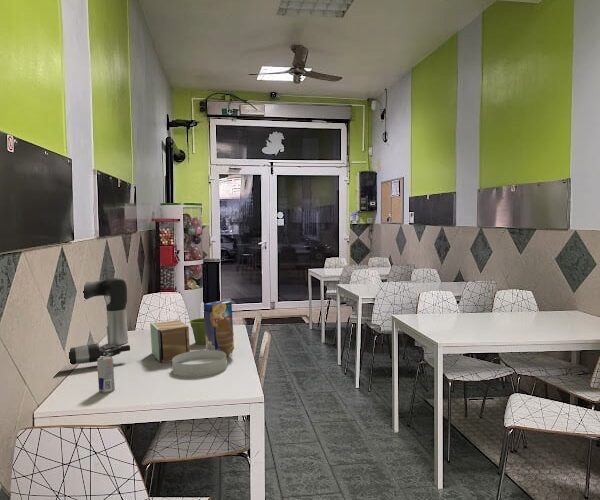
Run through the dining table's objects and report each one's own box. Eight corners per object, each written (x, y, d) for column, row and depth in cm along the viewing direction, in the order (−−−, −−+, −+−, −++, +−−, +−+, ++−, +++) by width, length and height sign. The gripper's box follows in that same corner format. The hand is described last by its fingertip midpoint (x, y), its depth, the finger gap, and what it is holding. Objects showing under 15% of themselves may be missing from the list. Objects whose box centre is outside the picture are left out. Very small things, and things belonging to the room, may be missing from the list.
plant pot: (212, 338, 260) (211, 316, 259) (216, 343, 248) (215, 320, 248) (189, 341, 256) (187, 319, 255) (191, 346, 245) (190, 323, 244)
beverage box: (234, 348, 238) (231, 301, 236) (215, 353, 230) (212, 305, 228) (224, 346, 242) (222, 300, 241) (206, 351, 234) (203, 304, 233)
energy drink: (101, 388, 187) (99, 356, 186) (116, 387, 187) (114, 355, 186) (97, 393, 181) (94, 360, 181) (112, 392, 182) (110, 359, 181)
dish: (180, 380, 193) (179, 367, 193) (166, 367, 213) (165, 355, 212) (235, 370, 203) (234, 358, 203) (217, 358, 223) (216, 347, 223)
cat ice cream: (236, 357, 222) (234, 316, 221) (218, 359, 219) (216, 318, 218) (232, 352, 230) (230, 313, 229) (215, 354, 228) (213, 315, 227)
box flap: (162, 361, 218) (160, 329, 218) (159, 362, 218) (157, 330, 217) (154, 352, 236) (152, 322, 235) (151, 352, 235) (150, 322, 234)
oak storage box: (155, 353, 235) (153, 323, 234) (181, 349, 240) (179, 319, 239) (162, 362, 219) (160, 330, 218) (190, 357, 224) (188, 326, 223)
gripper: (86, 358, 222) (128, 352, 230) (89, 366, 210) (132, 359, 218) (85, 341, 222) (127, 336, 229) (87, 348, 210) (131, 342, 217)
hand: (129, 347), depth 224 cm, fingers closed
